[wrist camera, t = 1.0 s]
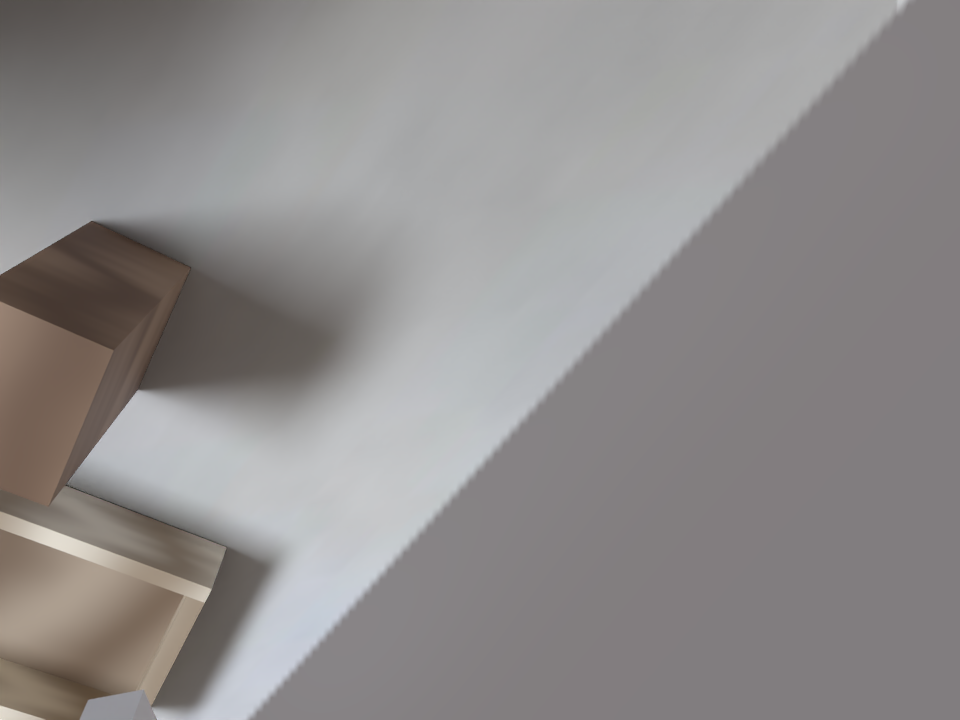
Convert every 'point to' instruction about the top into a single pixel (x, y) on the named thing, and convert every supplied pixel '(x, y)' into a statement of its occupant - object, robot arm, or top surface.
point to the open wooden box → (92, 602)
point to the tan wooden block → (75, 350)
